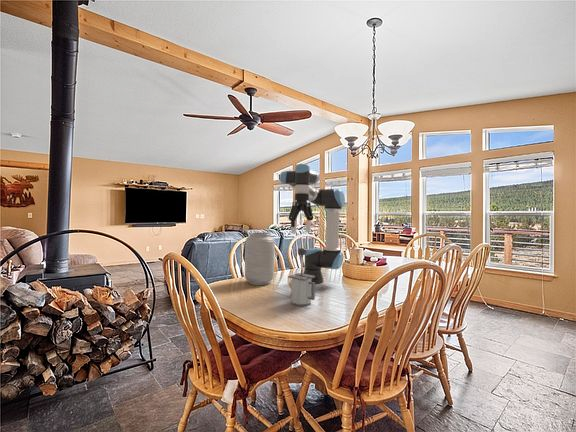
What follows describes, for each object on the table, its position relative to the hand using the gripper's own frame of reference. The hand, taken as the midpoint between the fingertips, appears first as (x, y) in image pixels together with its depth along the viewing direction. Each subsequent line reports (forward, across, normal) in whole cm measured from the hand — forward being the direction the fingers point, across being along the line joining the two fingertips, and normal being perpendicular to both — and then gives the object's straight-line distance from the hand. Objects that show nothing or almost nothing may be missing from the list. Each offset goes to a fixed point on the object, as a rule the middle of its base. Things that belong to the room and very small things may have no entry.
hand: (301, 232), depth 163 cm
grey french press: (+38, 0, +2) cm, 38 cm away
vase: (+38, -18, -46) cm, 62 cm away
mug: (+38, -16, -11) cm, 43 cm away
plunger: (+25, 0, +1) cm, 25 cm away
